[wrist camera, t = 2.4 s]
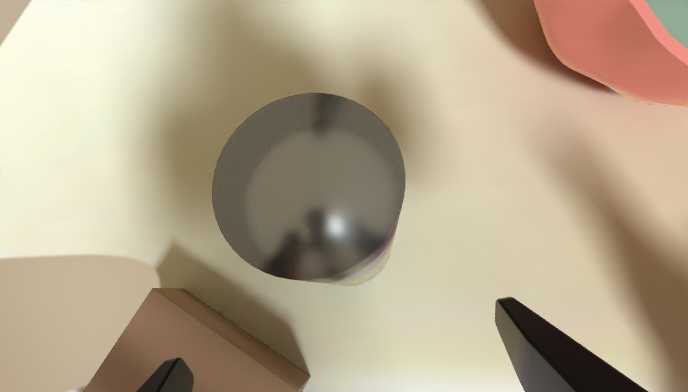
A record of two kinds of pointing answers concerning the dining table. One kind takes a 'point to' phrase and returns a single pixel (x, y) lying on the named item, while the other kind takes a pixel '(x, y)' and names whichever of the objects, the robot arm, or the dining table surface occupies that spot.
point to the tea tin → (311, 190)
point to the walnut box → (193, 350)
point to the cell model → (623, 45)
